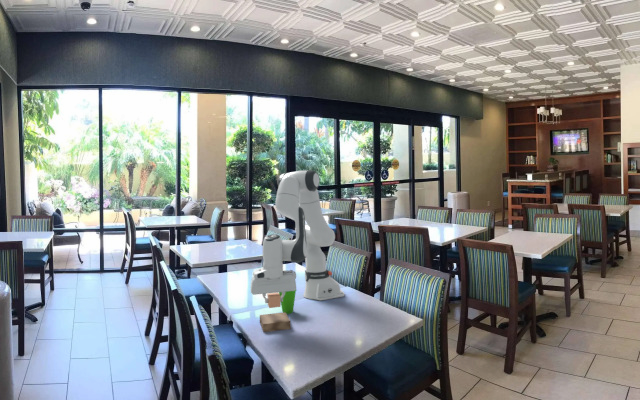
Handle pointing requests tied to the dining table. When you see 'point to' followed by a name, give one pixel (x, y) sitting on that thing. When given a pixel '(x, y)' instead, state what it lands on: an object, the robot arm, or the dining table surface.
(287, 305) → the cup
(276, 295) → the cube
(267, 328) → the base slab
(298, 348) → the dining table surface
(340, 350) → the dining table surface
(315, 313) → the dining table surface
